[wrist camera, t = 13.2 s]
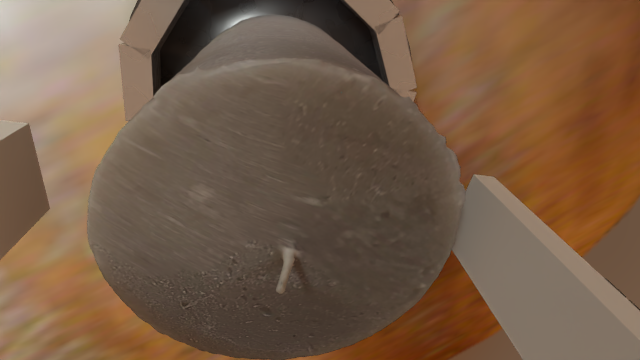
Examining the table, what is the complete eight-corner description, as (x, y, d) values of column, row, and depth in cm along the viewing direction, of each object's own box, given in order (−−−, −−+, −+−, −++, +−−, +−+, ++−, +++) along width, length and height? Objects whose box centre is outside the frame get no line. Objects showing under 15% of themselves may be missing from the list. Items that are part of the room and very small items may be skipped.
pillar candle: (260, 194, 24) (248, 441, 11) (156, 74, 19) (-75, 257, 6) (383, 120, 22) (536, 307, 9) (302, -30, 18) (390, -69, 5)
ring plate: (114, -111, 16) (89, -126, 14) (445, -33, 19) (466, -36, 17) (139, 195, 24) (126, 216, 22) (370, 215, 27) (378, 235, 25)
